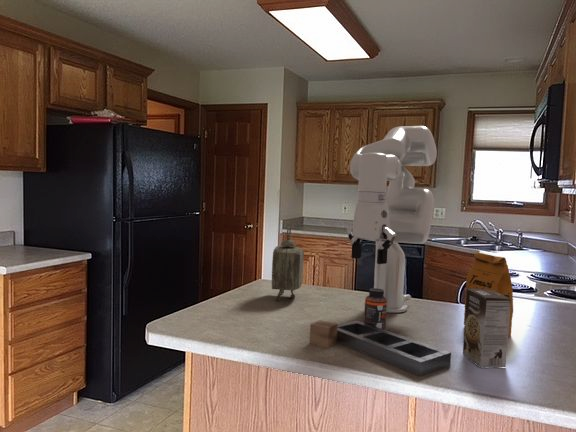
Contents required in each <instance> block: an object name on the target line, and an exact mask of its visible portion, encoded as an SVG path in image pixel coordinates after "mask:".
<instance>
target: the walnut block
mask: <svg viewBox="0 0 576 432" xmlns="http://www.w3.org/2000/svg"><path fill="white" fill-rule="evenodd" d="M338 324H339V323H337V322H332V321H327V320H322V319H319V320H317V321H314V322H312V323H310V327H309V328H310V329H309V344H310V345H314V346H317V347H322V348H326V349H329V348H330V347H332V346H333V345H335V344H337V343H338V342H337V326H338Z"/></svg>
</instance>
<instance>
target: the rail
mask: <svg viewBox="0 0 576 432" xmlns="http://www.w3.org/2000/svg"><path fill="white" fill-rule="evenodd" d="M337 324H338V326H337V343H338V344H341V345H343V346H346V347H348V348H351V349H353V350H355V351H357V352H360V353H362V354H365V355H368V356H370V357H372V358H375V359H378V360H379V361H382V362H384V363H386V364H390V365H391V366H394V367H396V368H398V369H402V370H404V371H406V372H409V373H410V374H411V373H412V374H414V375H416V376H419V377H422V376H425V375H428V374H430V373H433V372H436V371H438V370H442V369H444V368H448V367H450V366H451V359H452V352H450V351H447V350H445V349H442V348H439V347H436V346H433V345H431V344H427V343H425V342H421V341H418V340H415V339H412V338H409V337H407V336H404V335H401V334H397V333H394V332H392V331H388V330H387V329H385V330H383V329H381V328H378V327H375V326H372V325H369V324H366V323H364V321H359V320H353V321H349V322H348V321H347V322H344V323H337Z"/></svg>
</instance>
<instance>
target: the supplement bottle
mask: <svg viewBox="0 0 576 432" xmlns="http://www.w3.org/2000/svg"><path fill="white" fill-rule="evenodd" d="M368 294H369V295H367V296H366V297H365V299H364V300H365V301H364V317H363V323H366V324H369V325H372V326H375V327H378V328H381V329H383V330H386V321H387V312H386V309H387V300H386V298H384V296H383V295H384V290H382V289H377V288H374V287H372V288H369V290H368Z"/></svg>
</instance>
